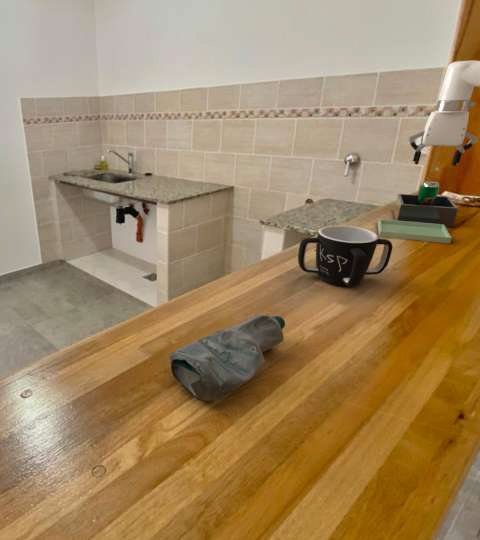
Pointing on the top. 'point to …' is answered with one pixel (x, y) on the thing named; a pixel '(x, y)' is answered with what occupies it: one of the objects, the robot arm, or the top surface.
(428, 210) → the dark grey open box
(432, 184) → the soda can
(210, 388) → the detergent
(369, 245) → the mug
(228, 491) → the top surface
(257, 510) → the top surface
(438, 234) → the tray
